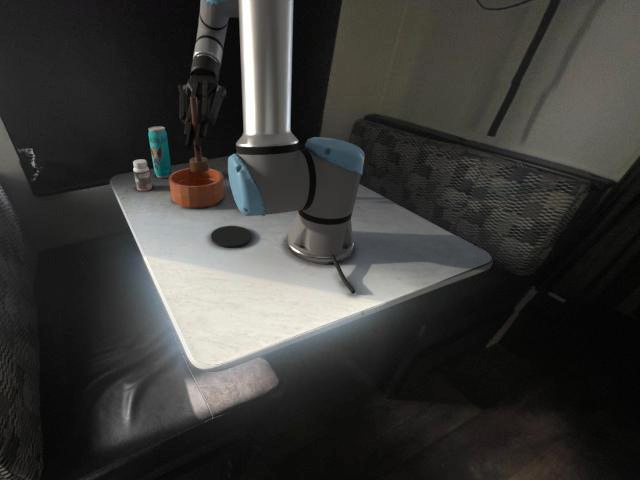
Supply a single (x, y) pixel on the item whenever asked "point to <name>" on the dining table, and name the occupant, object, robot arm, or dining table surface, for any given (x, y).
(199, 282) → the dining table surface
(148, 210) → the dining table surface
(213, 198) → the bowl
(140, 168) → the pill bottle
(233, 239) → the disc
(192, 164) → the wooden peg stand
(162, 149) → the beverage can
